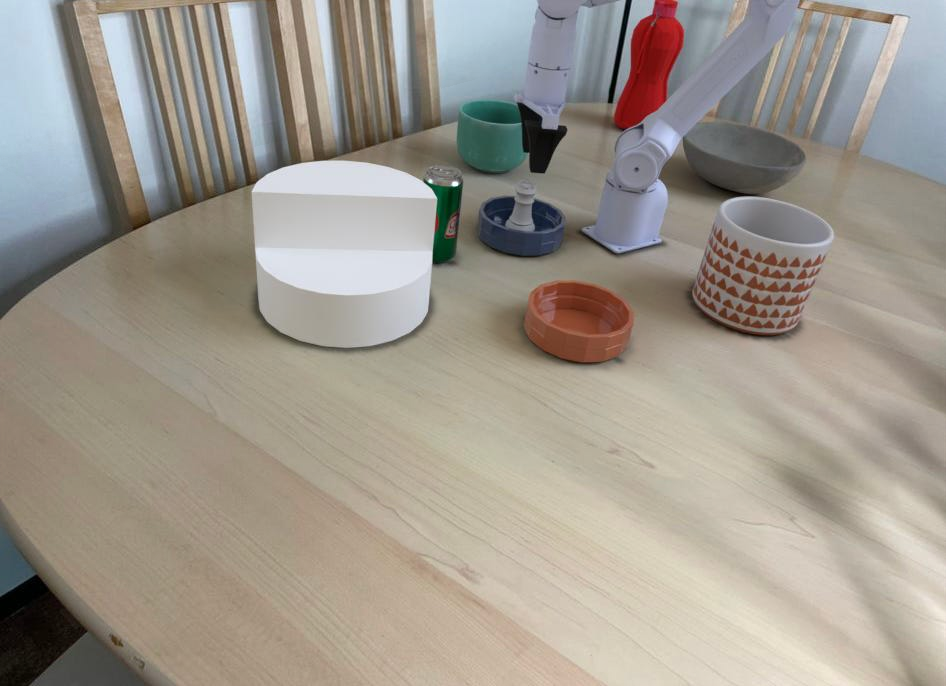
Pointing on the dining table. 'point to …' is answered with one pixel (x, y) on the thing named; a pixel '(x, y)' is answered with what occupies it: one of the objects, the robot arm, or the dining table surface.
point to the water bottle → (650, 64)
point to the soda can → (445, 209)
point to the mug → (490, 135)
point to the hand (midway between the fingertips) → (533, 162)
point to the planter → (761, 264)
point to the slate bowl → (516, 241)
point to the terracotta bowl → (578, 321)
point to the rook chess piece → (523, 207)
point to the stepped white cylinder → (343, 251)
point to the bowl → (742, 157)
